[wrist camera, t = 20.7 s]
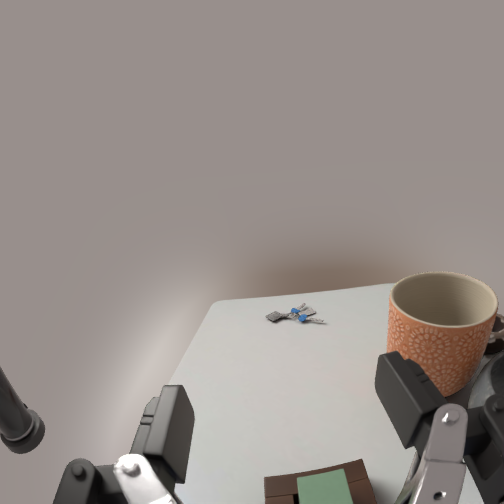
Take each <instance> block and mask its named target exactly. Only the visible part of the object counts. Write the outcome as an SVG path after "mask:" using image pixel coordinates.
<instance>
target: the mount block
mask: <svg viewBox="0 0 504 504" xmlns="http://www.w3.org/2000/svg"><path fill="white" fill-rule="evenodd" d="M339 469H344V472H345V476H346V479H347V483H348V487H349V490H350V494H351V498H352V501H353V504H377V502H376V499H375V496H374V493H373V490H372V487H371V484H370V481H369V478H368V475H367V472H366V469H365V466H364V463H363V460H362V459H359V460H356V461H352V462H348V463H344V464H340V465H336V466H332V467H327V468H323V469H318V470H312V471H307V472H301V473H295V474H288V475H280V476H271V477H264V489H265V504H299V496H298V485H297V478H299V477H305V476H311V475H316V474H321V473H326V472H330V471H335V470H339Z"/></svg>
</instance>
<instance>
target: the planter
mask: <svg viewBox="0 0 504 504" xmlns="http://www.w3.org/2000/svg"><path fill="white" fill-rule="evenodd" d="M497 310H498V298H497V296H496V294H495V292H494V291H493V290H492V289H491V288H490V287H489V286H488V285H487V284H485V283H483V282H482V281H480V280H478V279H476V278H473V277H470V276H467V275H463V274H458V273H451V272H425V273H419V274H415V275H411V276H408V277H406V278H404V279H402V280H400V281H399V282H397V283H396V284H395V285H394V286H393V287H392V289H391V291H390V298H389V320H388V336H387V353H389V352H392V351H398V352H399V353H400V354H401V356H402V357H403V358H404V360H406V359H411V360H413V361H414V362H416V363H418V364H419V365H420V366H421V368H422V369H423V370H424V371H425V374H427V375H428V377H429V378H430V380H432V382H433V383H434V384H435V386H436V387H437V388H438V390H439V391H440V392H441V394H442V395H443V396H444V397H447V396H450V395H452V394H454V393H456V392H458V391H459V390H461V389H462V388H463V387H464V386H465V385H466V384H467V383H468V382H469V381H470V380H471V378H472V377H473V375H474V374H475V372H476V370H477V368H478V366H479V364H480V362H481V360H482V357H483V355H484V352H485V350H486V347H487V344H488V341H489V338H490V335H491V332H492V328H493V325H494V322H495V318H496V314H497Z"/></svg>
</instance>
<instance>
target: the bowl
mask: <svg viewBox="0 0 504 504" xmlns="http://www.w3.org/2000/svg"><path fill="white" fill-rule="evenodd" d="M494 394H503V395H504V351H503V352H501V353H499V354H497V355H496V356H495V357H493V358H492V359H491V360H490V361H489V362H488V363H487V364H486V365H485V366H484V368H483V369H482V371H481V372H480V374H479V376H478V377H477V379H476V381H475V383H474V385H473V388H472V391H471V394H470V397H469V403H468V409H470V408H475V407H479V406H483V405H484V403H485V401H486V400H487V398H488V397H490V396H491V395H494ZM494 444H495V443H494ZM495 446H496V445H495ZM497 449H498V448H497ZM498 451H499V450H498ZM499 453H500V452H499ZM500 454H501V453H500Z"/></svg>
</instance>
